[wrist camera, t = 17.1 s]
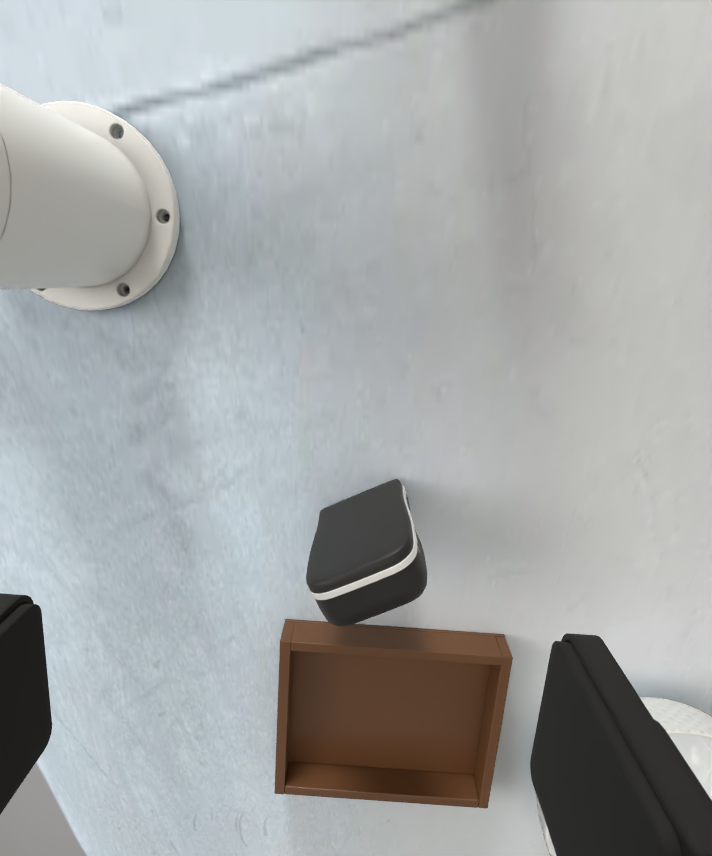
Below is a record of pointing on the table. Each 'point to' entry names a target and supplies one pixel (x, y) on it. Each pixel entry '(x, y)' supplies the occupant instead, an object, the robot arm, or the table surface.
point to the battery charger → (366, 556)
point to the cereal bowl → (691, 733)
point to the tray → (389, 713)
